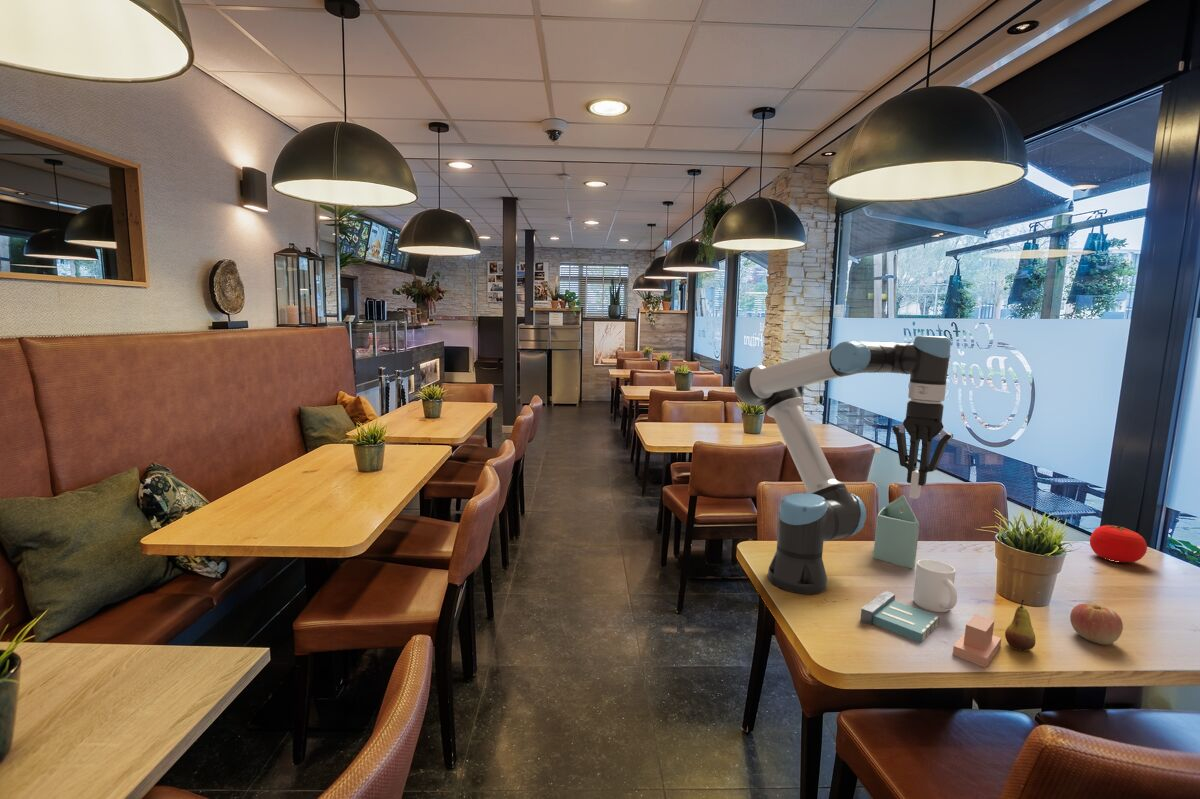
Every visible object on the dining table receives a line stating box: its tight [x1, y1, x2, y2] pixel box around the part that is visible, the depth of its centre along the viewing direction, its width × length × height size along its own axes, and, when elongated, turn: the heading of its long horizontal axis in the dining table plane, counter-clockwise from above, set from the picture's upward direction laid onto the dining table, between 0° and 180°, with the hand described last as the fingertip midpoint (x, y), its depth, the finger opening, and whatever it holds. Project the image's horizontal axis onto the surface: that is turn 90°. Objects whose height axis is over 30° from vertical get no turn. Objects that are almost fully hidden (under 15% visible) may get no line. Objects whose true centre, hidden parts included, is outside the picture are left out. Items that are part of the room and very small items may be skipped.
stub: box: [952, 614, 1002, 668], centre depth 121 cm, size 6×12×6 cm, turn 133°
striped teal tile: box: [872, 600, 940, 643], centre depth 133 cm, size 13×12×2 cm
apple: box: [1069, 603, 1124, 646], centre depth 127 cm, size 9×9×8 cm
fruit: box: [1004, 599, 1036, 651], centre depth 122 cm, size 6×6×12 cm
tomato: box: [1089, 523, 1148, 563], centre depth 175 cm, size 12×13×11 cm
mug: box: [913, 559, 958, 613], centre depth 139 cm, size 12×8×10 cm
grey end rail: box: [859, 590, 896, 626], centre depth 136 cm, size 2×14×3 cm, turn 133°
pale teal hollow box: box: [872, 494, 920, 570], centre depth 171 cm, size 16×8×20 cm, turn 6°
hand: (914, 497), depth 137 cm, fingers closed
